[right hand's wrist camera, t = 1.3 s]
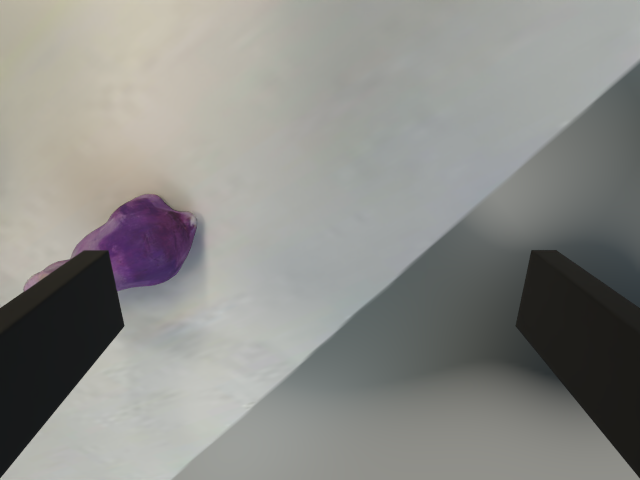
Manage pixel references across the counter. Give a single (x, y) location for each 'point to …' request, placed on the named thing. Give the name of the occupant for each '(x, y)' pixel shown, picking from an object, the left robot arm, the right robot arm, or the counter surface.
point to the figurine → (139, 243)
